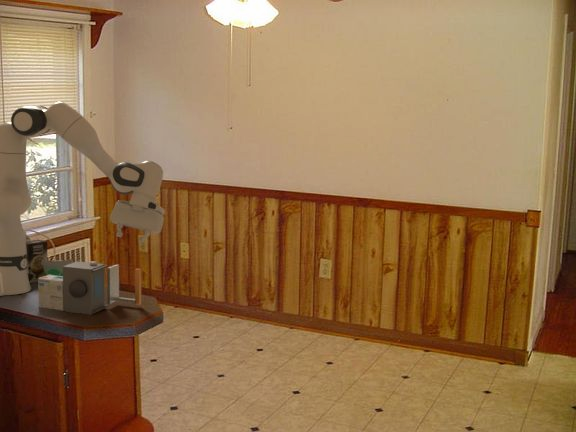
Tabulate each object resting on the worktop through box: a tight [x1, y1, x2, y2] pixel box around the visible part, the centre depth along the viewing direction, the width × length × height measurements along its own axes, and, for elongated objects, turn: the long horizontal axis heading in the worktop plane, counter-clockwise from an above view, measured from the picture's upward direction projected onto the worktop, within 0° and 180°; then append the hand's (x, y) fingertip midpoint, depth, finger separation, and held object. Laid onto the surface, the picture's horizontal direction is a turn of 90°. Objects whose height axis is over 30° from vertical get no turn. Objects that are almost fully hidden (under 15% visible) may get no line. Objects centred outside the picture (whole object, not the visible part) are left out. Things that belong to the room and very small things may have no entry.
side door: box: [106, 263, 142, 306], centre depth 267 cm, size 10×6×14 cm, turn 73°
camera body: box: [63, 260, 109, 316], centre depth 261 cm, size 12×11×17 cm
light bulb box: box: [37, 275, 64, 312], centre depth 265 cm, size 11×7×11 cm, turn 70°
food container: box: [41, 258, 74, 276], centre depth 296 cm, size 12×6×10 cm, turn 103°
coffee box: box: [26, 239, 48, 284], centre depth 301 cm, size 9×6×16 cm
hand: (130, 239), depth 275 cm, fingers open, 8 cm apart
